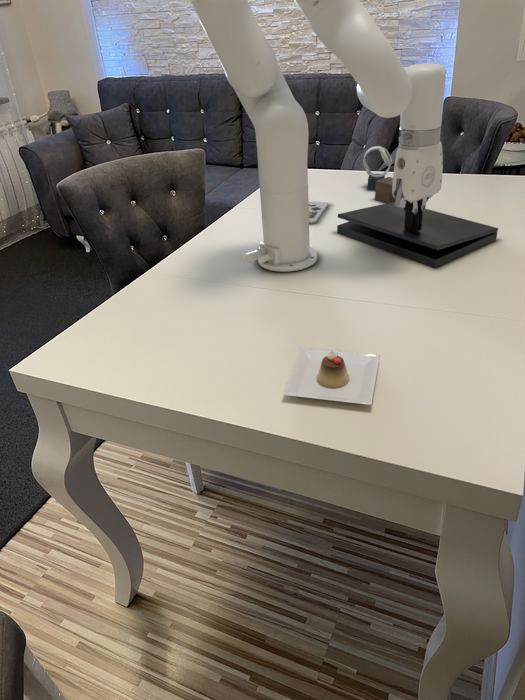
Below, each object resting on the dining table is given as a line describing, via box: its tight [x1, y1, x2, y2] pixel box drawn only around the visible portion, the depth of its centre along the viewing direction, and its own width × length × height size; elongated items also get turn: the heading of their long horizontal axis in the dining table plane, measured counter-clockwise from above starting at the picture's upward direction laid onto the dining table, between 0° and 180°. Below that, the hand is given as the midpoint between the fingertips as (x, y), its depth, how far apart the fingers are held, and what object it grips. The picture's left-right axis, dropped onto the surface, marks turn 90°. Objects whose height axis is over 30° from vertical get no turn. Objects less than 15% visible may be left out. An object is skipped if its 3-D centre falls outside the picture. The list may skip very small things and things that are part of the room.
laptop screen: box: [337, 202, 499, 250], centre depth 118 cm, size 20×28×1 cm
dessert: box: [281, 347, 381, 406], centre depth 75 cm, size 12×12×5 cm
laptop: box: [336, 221, 498, 269], centre depth 119 cm, size 20×28×2 cm
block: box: [374, 176, 396, 204], centre depth 141 cm, size 5×5×5 cm
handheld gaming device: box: [308, 200, 329, 225], centre depth 137 cm, size 9×1×15 cm
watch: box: [362, 145, 393, 191], centre depth 149 cm, size 6×8×11 cm
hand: (412, 229), depth 112 cm, fingers closed
